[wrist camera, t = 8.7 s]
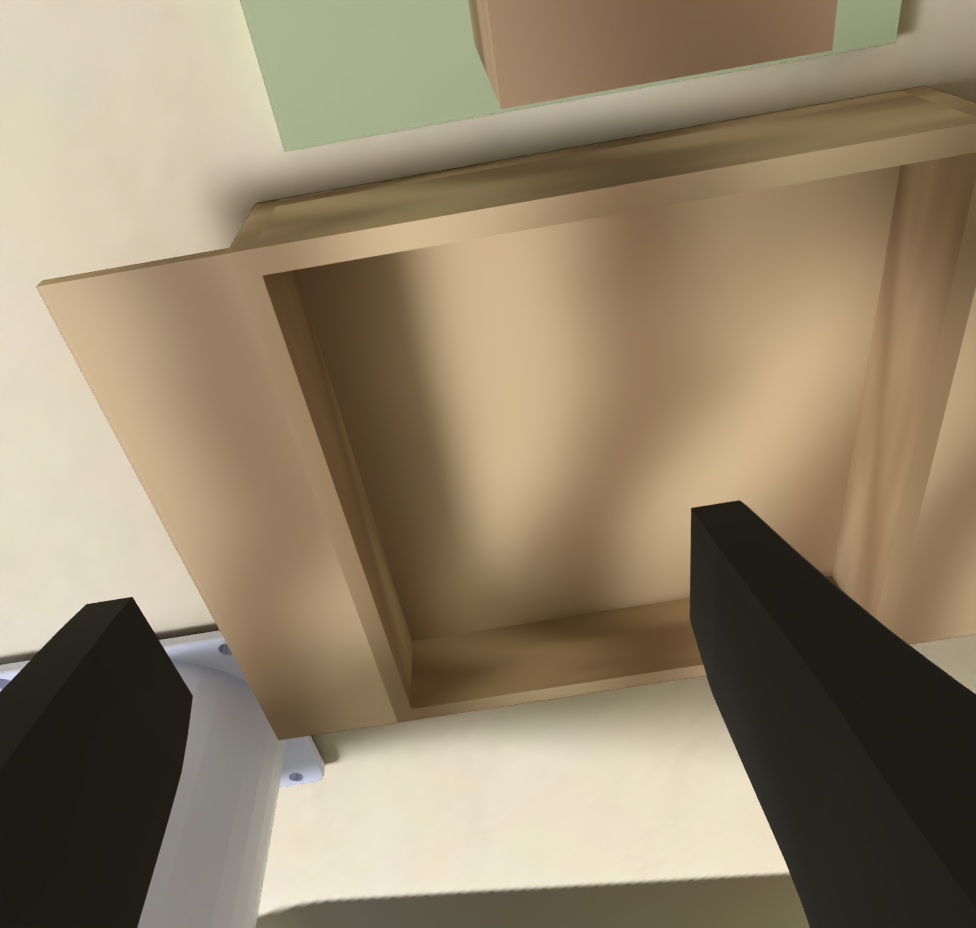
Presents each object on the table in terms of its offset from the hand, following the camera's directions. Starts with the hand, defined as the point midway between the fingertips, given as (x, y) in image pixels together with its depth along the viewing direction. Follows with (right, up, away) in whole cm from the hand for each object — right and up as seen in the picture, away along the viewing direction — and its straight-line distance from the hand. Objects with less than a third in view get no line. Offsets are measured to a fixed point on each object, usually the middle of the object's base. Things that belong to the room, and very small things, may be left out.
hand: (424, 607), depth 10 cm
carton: (+4, +3, +10) cm, 11 cm away
